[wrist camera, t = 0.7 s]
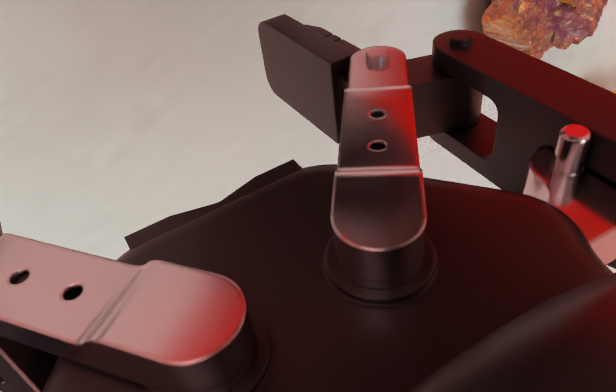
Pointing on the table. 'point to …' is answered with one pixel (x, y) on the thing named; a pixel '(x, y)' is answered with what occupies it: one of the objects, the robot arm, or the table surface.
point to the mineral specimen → (541, 23)
